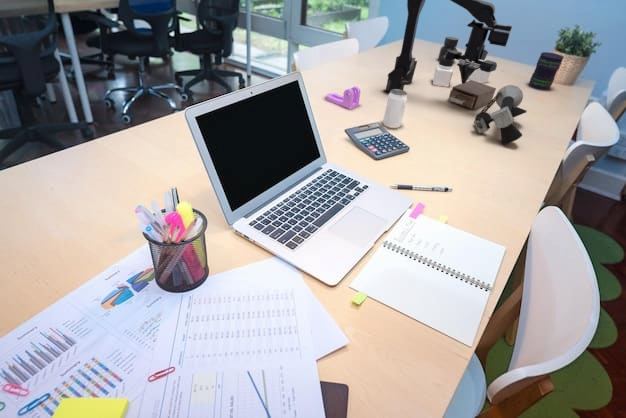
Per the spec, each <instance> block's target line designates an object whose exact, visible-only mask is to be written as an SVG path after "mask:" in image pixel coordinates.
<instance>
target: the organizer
mask: <svg viewBox="0 0 626 418" xmlns="http://www.w3.org/2000/svg"><path fill="white" fill-rule="evenodd" d="M451 90H458V91H461V92H464V93H467V94H470V95H473V96H476V100H475V102H474V105H473V106H472V108H471V109H470V110H473V111H475V110H477V109H479V108H482V107H485V106H486V105H488V103H490V102H491V100H492V99H494V96H495V93H496V90H497V88H496V87H494V86H490V85H488V84H485V83H478V82H475V81H472V80H470V79H469V80H467V81H466V82H465V83H464V84H463V83H462V82H461V83H459V84H457V85H456V84H455V85H453V86H452V89H451ZM452 103H453V104H457V103H454V102H452ZM457 105H458V104H457ZM463 107H465V106H463ZM465 108H467V109H469V108H468V107H465Z"/></svg>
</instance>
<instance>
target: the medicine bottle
mask: <svg viewBox="0 0 626 418" xmlns="http://www.w3.org/2000/svg"><path fill="white" fill-rule="evenodd" d="M453 62H454V63H455V61H454V60H452V61H449V60H446V59H445V56H443V57H441V58H440V61H439V62H438V64H436V65H435V69H434V73H433V76H432V85H433V86H439V87H444V88H445V87H446V88H449V87H450V84H451V80H452V78H453V73H454V70H453V66H454V63H453Z"/></svg>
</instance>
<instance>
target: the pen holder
mask: <svg viewBox="0 0 626 418" xmlns="http://www.w3.org/2000/svg"><path fill="white" fill-rule="evenodd" d="M399 56H400V55H397V56H396V57H395V63H394V69H395V66H396V63H397V61H398V58H399ZM417 65H418V60H415V61H414V68H413V69H412V70H411V71H410V72H409V73H408V74H407V75H406V76H405V77H403V79H405V80H404V85H409V84H411V83H413V79H414V74H415V71H416V67H417ZM394 69H393V70H394Z"/></svg>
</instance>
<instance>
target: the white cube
mask: <svg viewBox="0 0 626 418" xmlns="http://www.w3.org/2000/svg"><path fill="white" fill-rule="evenodd" d="M491 73H492V72H485V71H482V70H480V69H477V70H475V71H474V72H473V73H472V74H471V75H470V77H469V81H470V80H472V81H475V82H478V83H481V84H485V83H488V82H489V78H490V75H491Z"/></svg>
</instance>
